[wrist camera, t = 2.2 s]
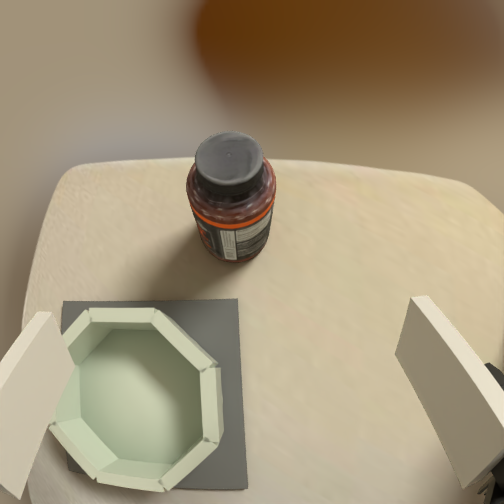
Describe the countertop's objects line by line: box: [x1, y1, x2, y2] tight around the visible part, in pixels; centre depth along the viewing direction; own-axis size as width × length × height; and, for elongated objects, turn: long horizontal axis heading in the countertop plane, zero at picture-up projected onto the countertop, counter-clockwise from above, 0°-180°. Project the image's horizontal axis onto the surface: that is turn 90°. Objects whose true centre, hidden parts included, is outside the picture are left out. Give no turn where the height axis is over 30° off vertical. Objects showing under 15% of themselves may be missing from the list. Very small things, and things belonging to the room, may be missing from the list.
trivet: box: [61, 299, 248, 489], centre depth 23 cm, size 16×16×1 cm
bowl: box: [49, 308, 224, 492], centre depth 20 cm, size 13×13×5 cm
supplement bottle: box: [186, 131, 276, 262], centre depth 23 cm, size 6×6×11 cm
